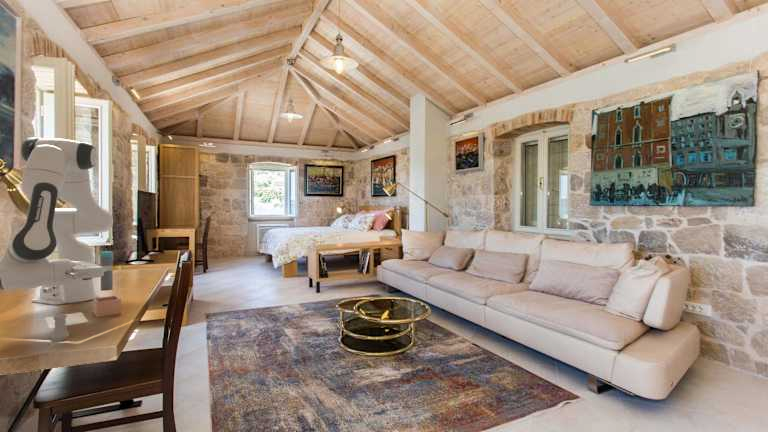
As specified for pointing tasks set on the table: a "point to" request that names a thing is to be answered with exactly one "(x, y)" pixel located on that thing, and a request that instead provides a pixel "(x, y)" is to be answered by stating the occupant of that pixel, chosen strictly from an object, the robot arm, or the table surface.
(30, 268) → the robot arm
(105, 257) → the marker
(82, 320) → the drawing board
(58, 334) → the rook chess piece
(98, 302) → the pen cup
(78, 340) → the table surface
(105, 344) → the table surface
